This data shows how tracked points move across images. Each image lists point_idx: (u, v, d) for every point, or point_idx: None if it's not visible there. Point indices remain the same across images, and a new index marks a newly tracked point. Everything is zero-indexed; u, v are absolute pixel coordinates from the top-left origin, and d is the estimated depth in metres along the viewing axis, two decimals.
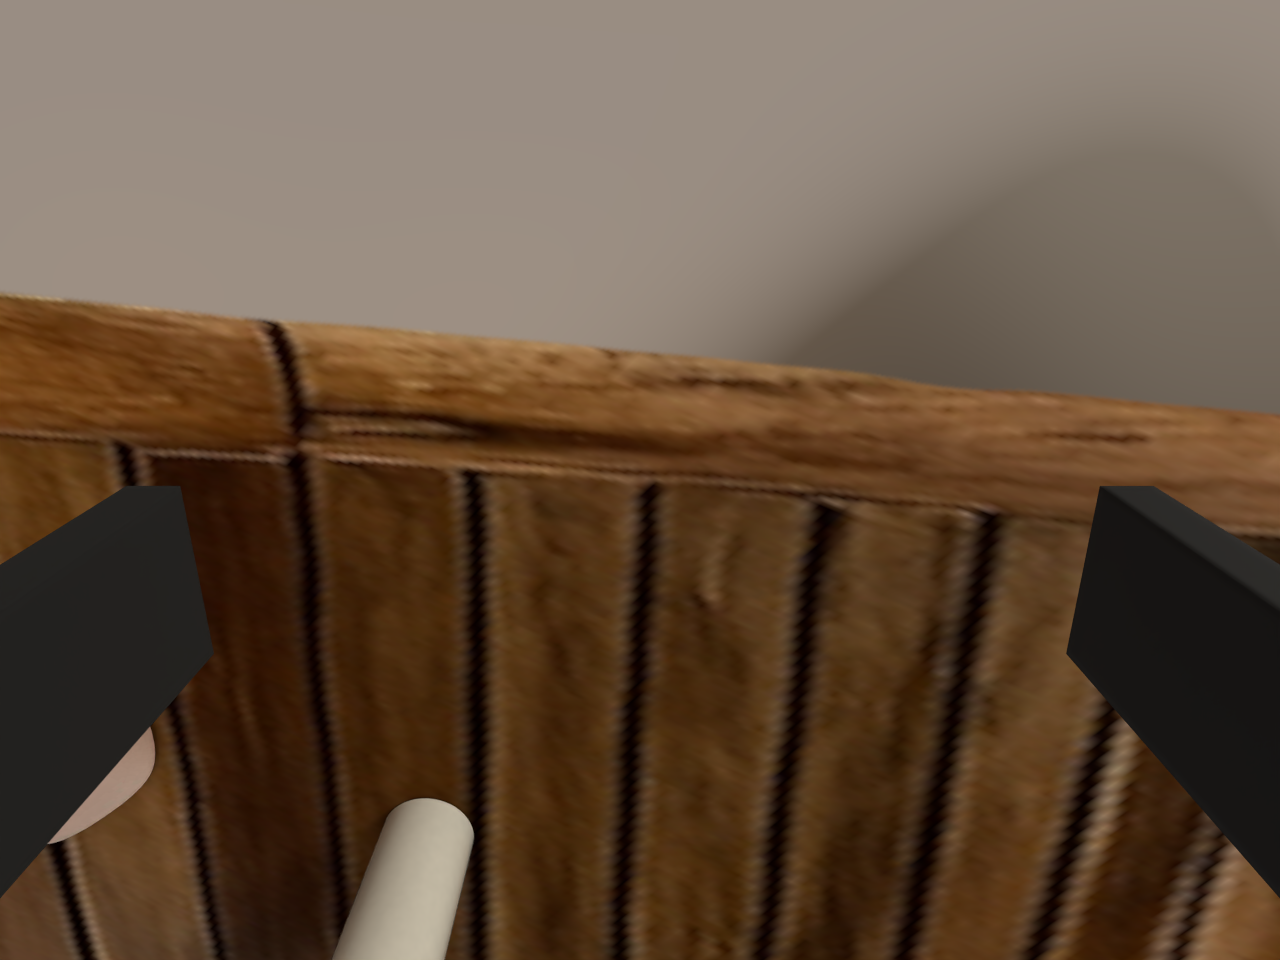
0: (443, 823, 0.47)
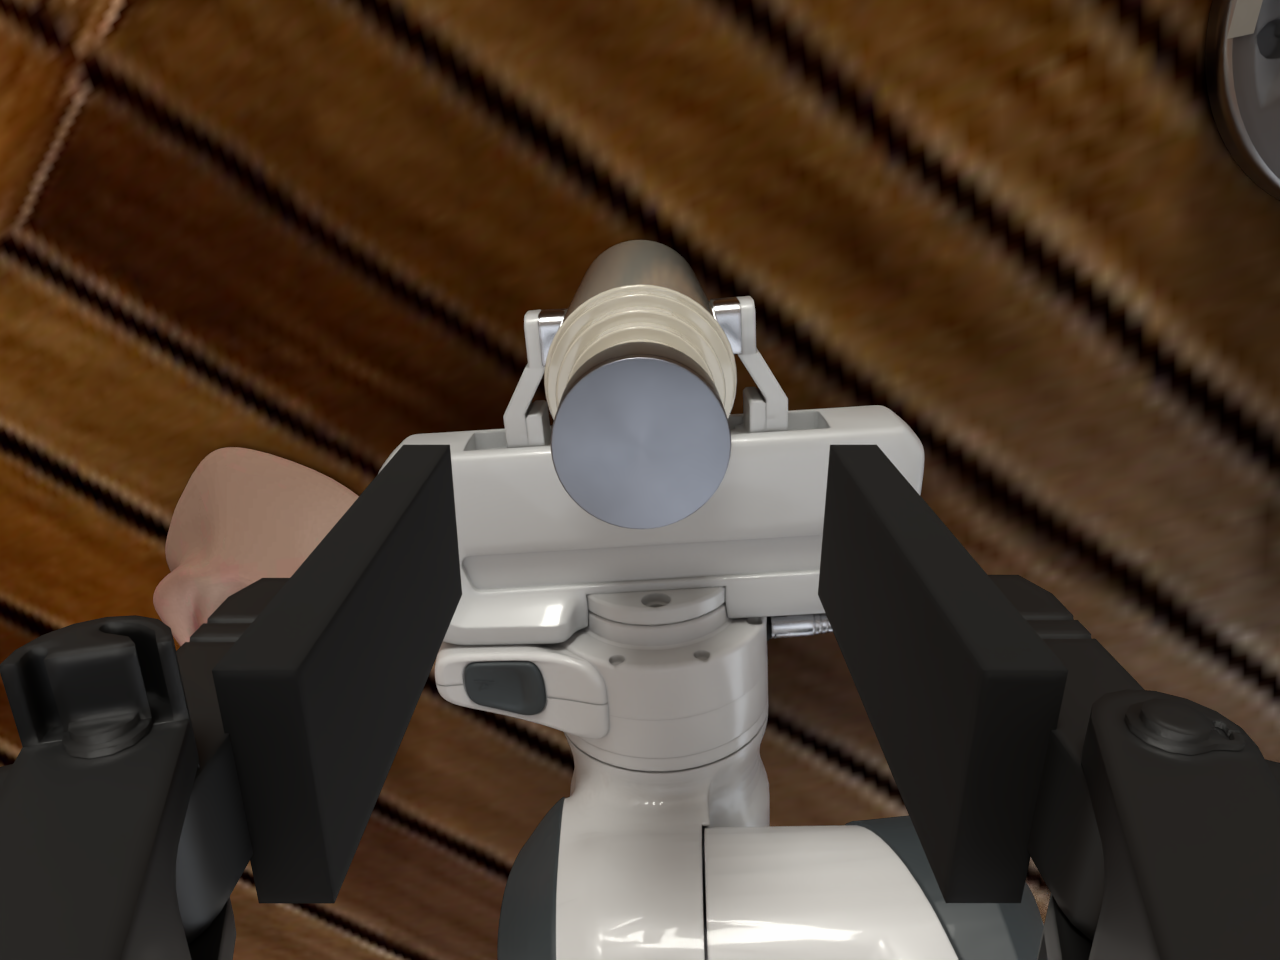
0: (612, 249, 0.34)
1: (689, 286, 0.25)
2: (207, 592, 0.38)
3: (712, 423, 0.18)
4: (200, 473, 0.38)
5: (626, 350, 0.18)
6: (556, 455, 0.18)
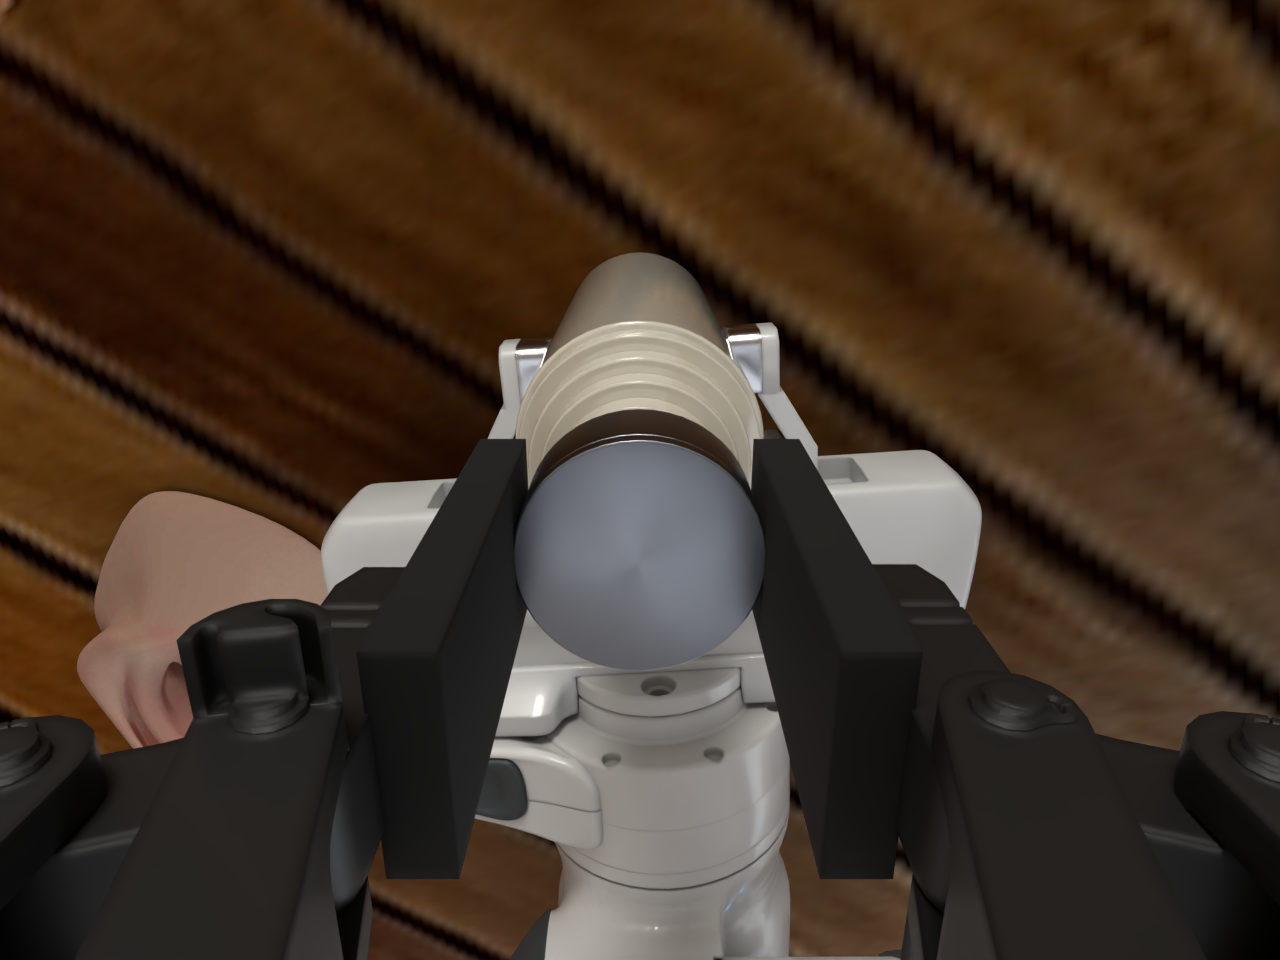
0: (606, 264, 0.29)
1: (701, 317, 0.20)
2: (139, 659, 0.33)
3: (740, 530, 0.12)
4: (131, 521, 0.33)
5: (619, 425, 0.13)
6: (520, 573, 0.13)
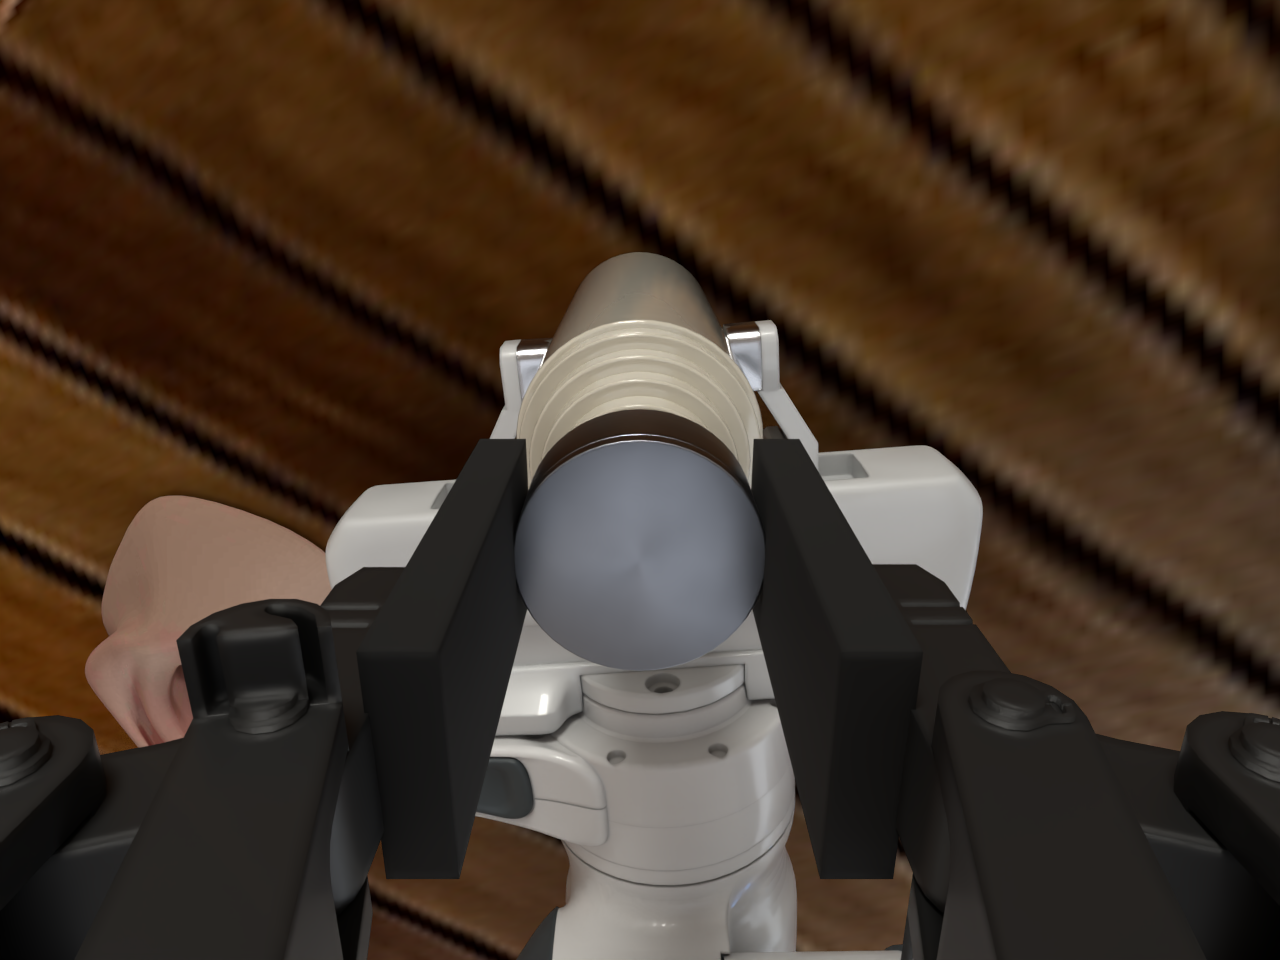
0: (606, 264, 0.29)
1: (700, 316, 0.20)
2: (146, 663, 0.33)
3: (550, 506, 0.12)
4: (137, 526, 0.33)
5: None
6: (717, 640, 0.13)
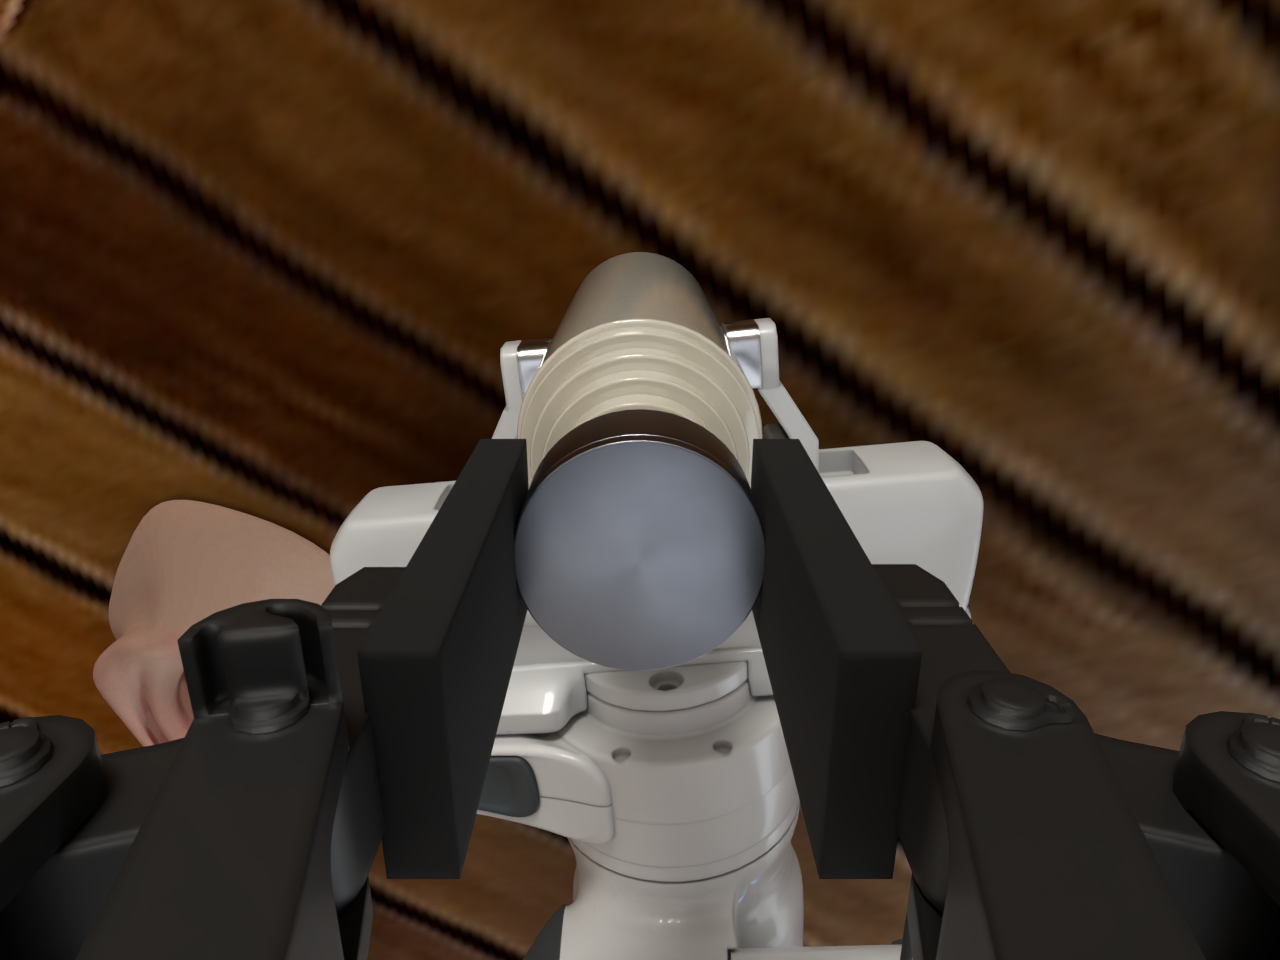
0: (605, 264, 0.29)
1: (698, 314, 0.20)
2: (153, 666, 0.33)
3: (642, 653, 0.13)
4: (142, 530, 0.34)
5: None
6: (664, 450, 0.12)
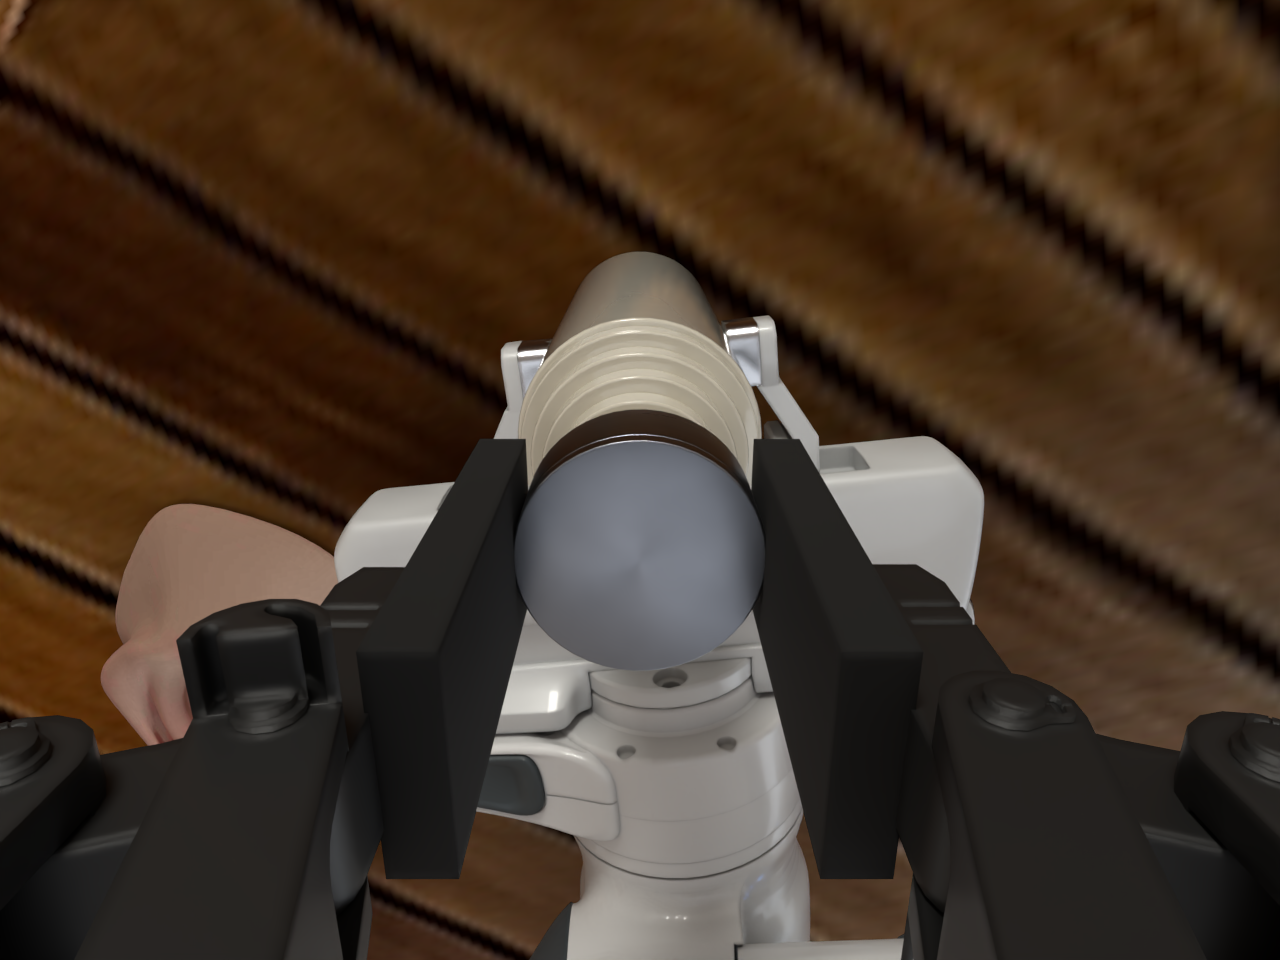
0: (605, 264, 0.29)
1: (697, 312, 0.20)
2: (161, 670, 0.34)
3: (725, 502, 0.12)
4: (148, 535, 0.34)
5: (580, 438, 0.13)
6: (532, 607, 0.13)
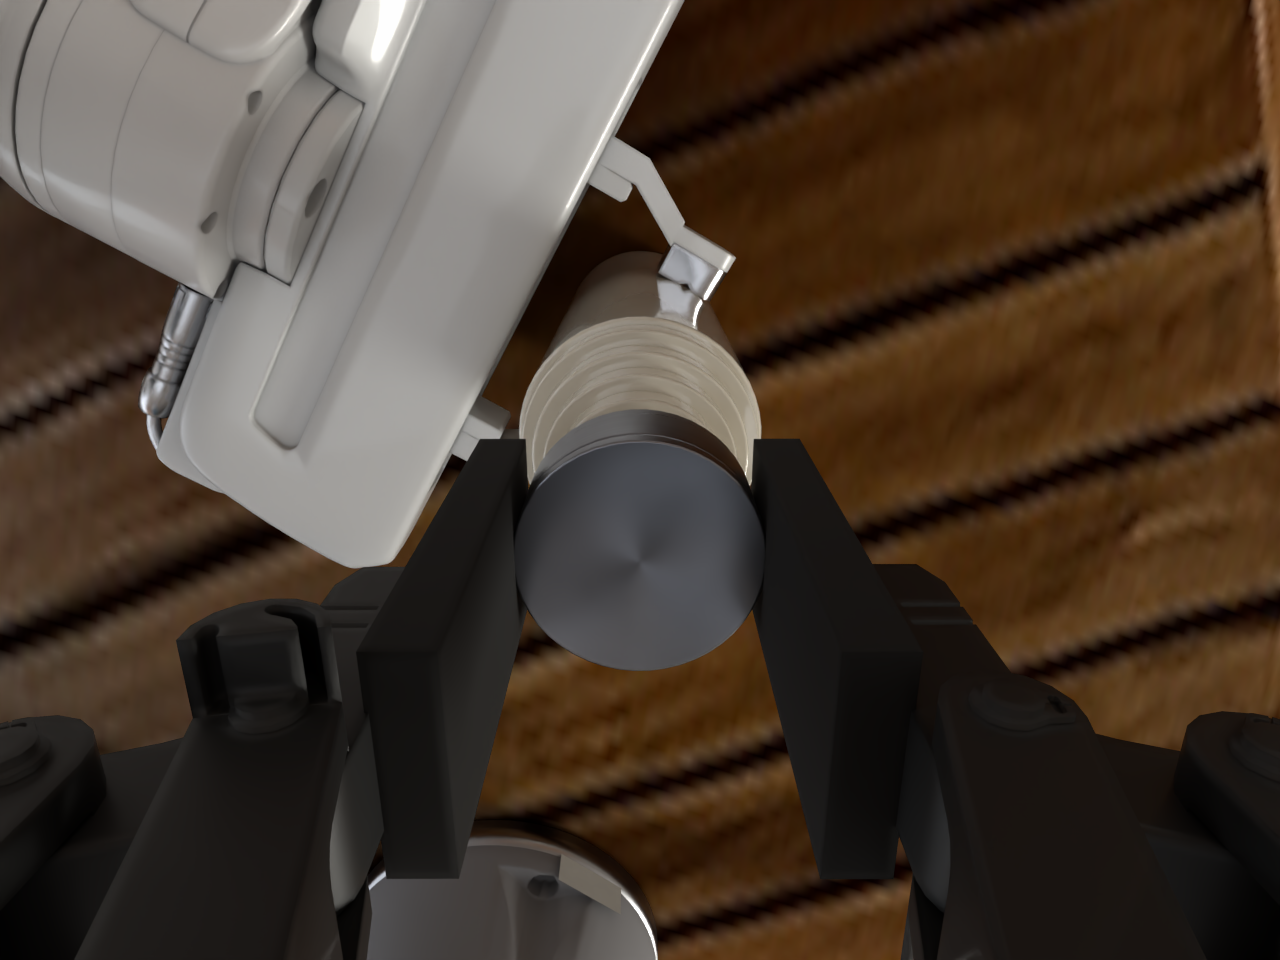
0: None
1: None
2: None
3: (725, 502, 0.12)
4: None
5: (580, 438, 0.13)
6: (532, 607, 0.13)
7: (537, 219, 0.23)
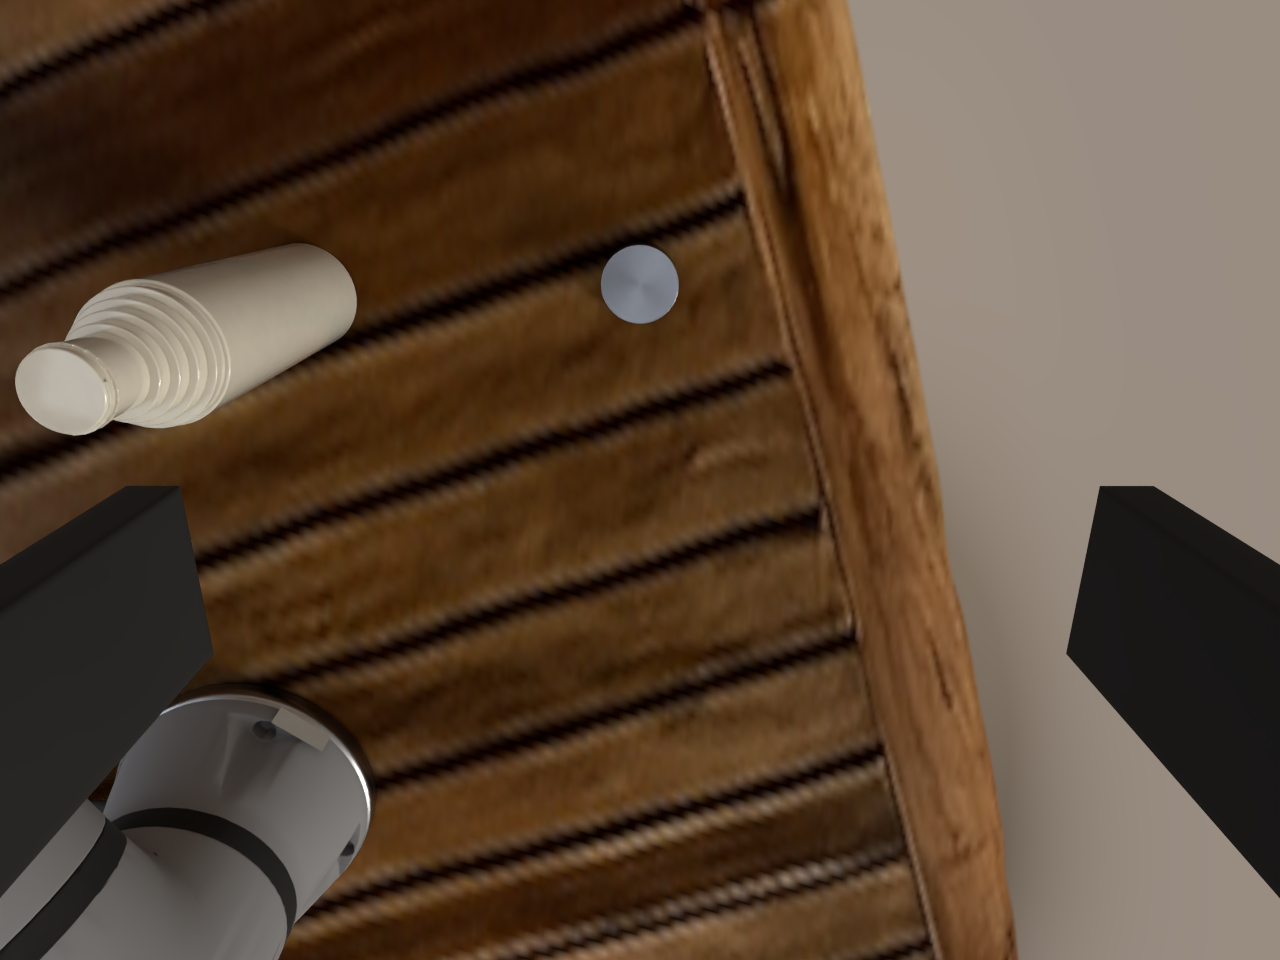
0: (346, 309, 0.42)
1: None
2: None
3: (665, 264, 0.41)
4: None
5: (621, 248, 0.42)
6: (606, 300, 0.42)
7: None
